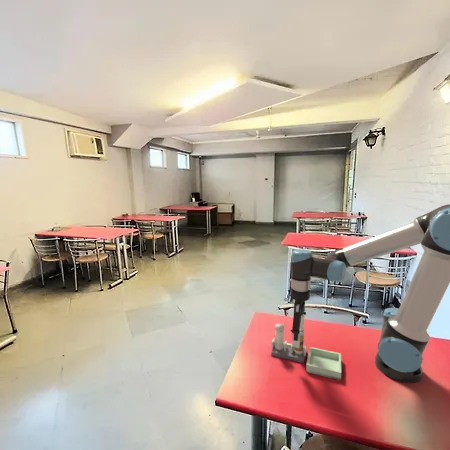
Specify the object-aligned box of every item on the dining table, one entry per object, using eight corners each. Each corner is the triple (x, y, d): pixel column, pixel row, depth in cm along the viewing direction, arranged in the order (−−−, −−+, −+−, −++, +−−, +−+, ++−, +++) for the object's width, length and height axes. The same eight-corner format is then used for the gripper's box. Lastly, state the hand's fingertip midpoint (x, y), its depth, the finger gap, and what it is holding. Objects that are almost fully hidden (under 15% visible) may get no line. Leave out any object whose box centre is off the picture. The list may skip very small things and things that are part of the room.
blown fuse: (303, 350, 111) (304, 328, 109) (302, 355, 107) (303, 332, 106) (294, 348, 112) (295, 326, 111) (293, 353, 109) (293, 331, 107)
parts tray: (340, 360, 106) (340, 353, 106) (340, 380, 96) (341, 372, 95) (309, 353, 111) (309, 346, 111) (306, 372, 100) (306, 364, 100)
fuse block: (306, 351, 112) (307, 341, 112) (304, 363, 105) (305, 352, 104) (274, 344, 118) (274, 335, 117) (270, 355, 110) (270, 345, 110)
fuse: (284, 346, 114) (285, 324, 112) (282, 351, 110) (283, 329, 109) (275, 344, 115) (276, 322, 114) (273, 349, 112) (274, 327, 110)
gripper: (295, 277, 118) (293, 321, 122) (285, 299, 96) (283, 353, 99) (312, 279, 116) (310, 324, 119) (306, 303, 93) (304, 358, 96)
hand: (298, 337), depth 109 cm, fingers open, 13 cm apart
